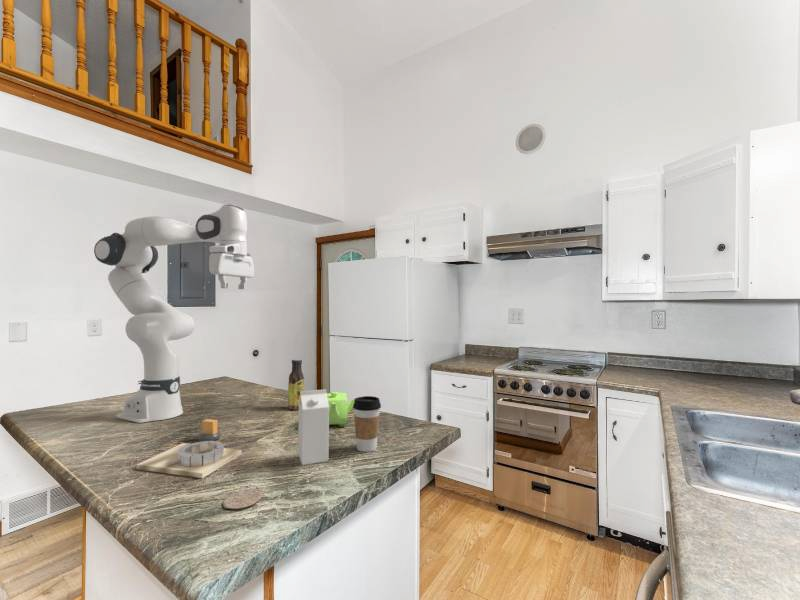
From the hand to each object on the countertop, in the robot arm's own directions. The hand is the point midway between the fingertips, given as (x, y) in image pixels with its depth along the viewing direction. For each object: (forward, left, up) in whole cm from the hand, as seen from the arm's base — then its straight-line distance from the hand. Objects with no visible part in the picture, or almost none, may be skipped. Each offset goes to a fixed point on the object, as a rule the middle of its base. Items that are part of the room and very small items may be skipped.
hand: (233, 288), depth 135 cm
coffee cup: (+54, -10, -48) cm, 73 cm away
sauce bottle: (+13, +22, -48) cm, 55 cm away
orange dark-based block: (+4, -16, -48) cm, 51 cm away
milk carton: (+42, -21, -48) cm, 67 cm away
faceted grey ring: (+14, -31, -47) cm, 58 cm away
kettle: (+35, +8, -48) cm, 60 cm away
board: (+11, -31, -48) cm, 58 cm away
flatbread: (+37, -45, -48) cm, 76 cm away
